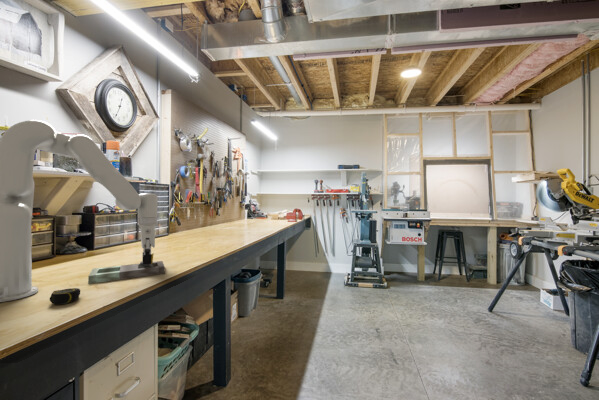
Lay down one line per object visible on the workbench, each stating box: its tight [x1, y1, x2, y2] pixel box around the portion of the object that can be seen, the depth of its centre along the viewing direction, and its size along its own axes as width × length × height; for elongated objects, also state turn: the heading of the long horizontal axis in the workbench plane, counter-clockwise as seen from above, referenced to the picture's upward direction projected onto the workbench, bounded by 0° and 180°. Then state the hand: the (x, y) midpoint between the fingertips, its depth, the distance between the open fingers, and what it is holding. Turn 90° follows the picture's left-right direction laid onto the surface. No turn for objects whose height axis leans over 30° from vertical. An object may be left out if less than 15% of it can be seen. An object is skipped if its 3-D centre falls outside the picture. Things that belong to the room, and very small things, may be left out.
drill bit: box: [138, 252, 155, 268], centre depth 116 cm, size 5×5×10 cm
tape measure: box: [49, 287, 81, 305], centre depth 83 cm, size 7×7×4 cm
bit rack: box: [87, 260, 166, 285], centre depth 112 cm, size 26×12×3 cm, turn 122°
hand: (146, 262), depth 116 cm, fingers closed on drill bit, 5 cm apart
